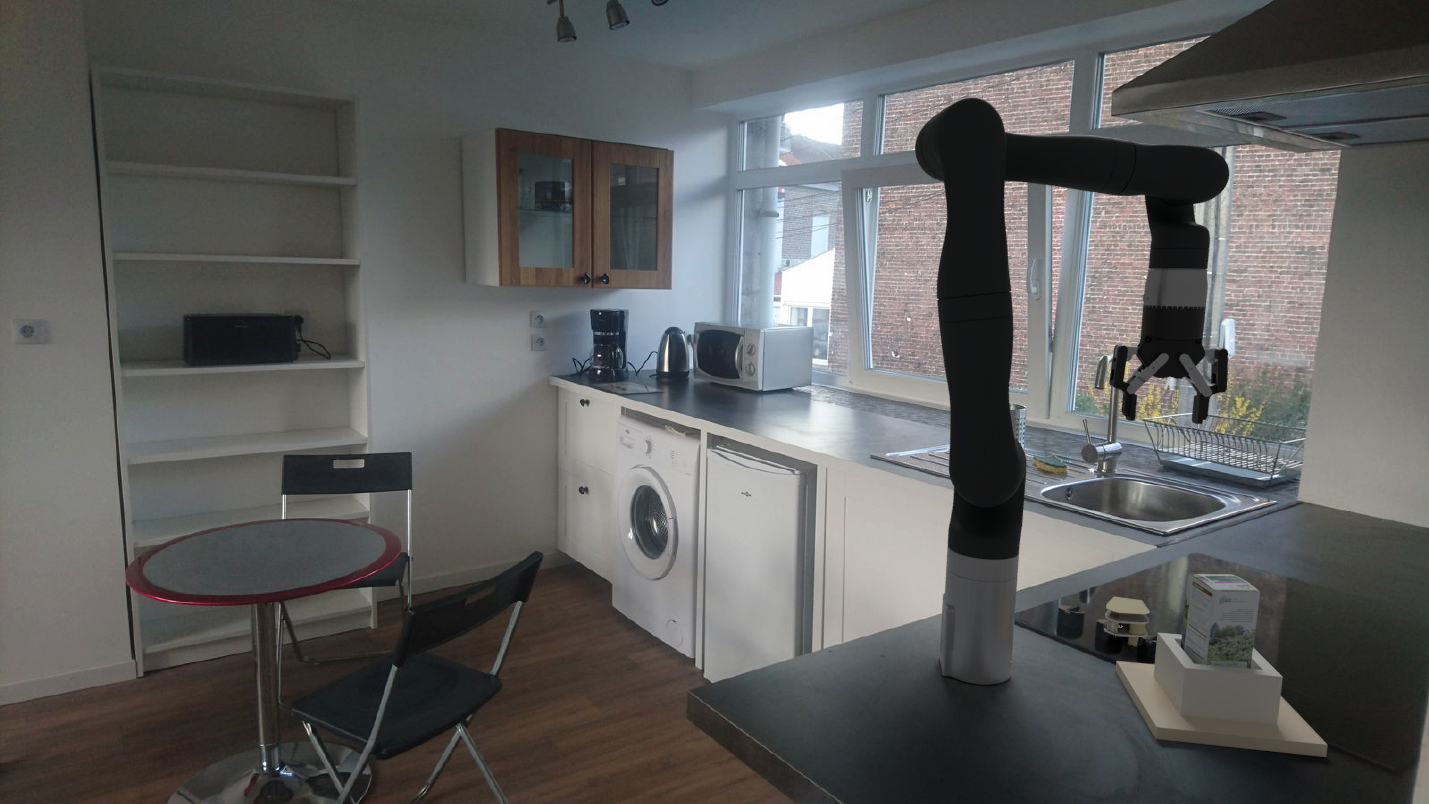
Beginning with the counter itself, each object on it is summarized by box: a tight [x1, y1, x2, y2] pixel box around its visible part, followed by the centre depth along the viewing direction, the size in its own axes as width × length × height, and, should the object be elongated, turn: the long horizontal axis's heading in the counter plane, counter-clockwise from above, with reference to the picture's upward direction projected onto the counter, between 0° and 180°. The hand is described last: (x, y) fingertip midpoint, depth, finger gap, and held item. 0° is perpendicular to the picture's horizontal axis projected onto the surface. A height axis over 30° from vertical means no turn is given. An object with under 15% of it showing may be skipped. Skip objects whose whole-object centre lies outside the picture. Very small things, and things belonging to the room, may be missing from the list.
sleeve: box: [1115, 632, 1329, 758], centre depth 108 cm, size 18×18×8 cm
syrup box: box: [1181, 573, 1261, 669], centre depth 107 cm, size 6×6×14 cm
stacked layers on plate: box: [1103, 596, 1151, 647], centre depth 130 cm, size 10×9×6 cm
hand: (1163, 421), depth 119 cm, fingers open, 8 cm apart
